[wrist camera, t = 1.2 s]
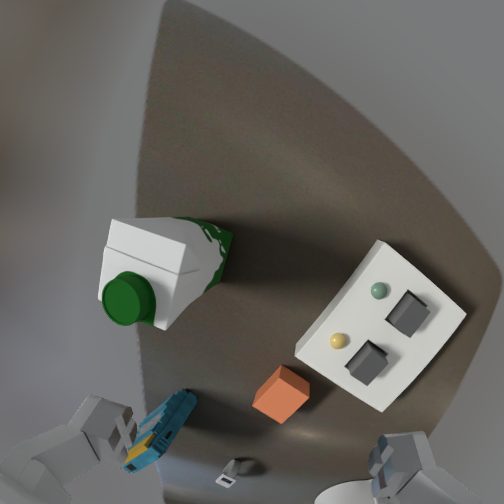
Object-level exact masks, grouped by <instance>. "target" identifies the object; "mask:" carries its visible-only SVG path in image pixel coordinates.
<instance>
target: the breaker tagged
mask: <svg viewBox="0 0 504 504" xmlns="http://www.w3.org/2000/svg"><path fill="white" fill-rule="evenodd" d="M388 364H389V363H388V361H387V359H386V357H385V355H384V353H383V351H382V349H381V348H380V347H378V346H377V345H376V344H374V343H373V342H371V341H370V340H369V339H368V340H367V341H366V342H365V343H364V344H363V346H362V347H361V348H360V349H359V350H358V351H357V352H356V354H355V355H354V356H353V357H352V358H351V359H350V360H349V361H348V368H349V372H350V375H351V376H352V377H354V378H355V379H357V380H359V381H360V382H362V383H363V384H365V385H366V386H368V385H369V384H370V383H371V382H372V381H373V380H374V379H375V378H376V377H377V376H378V374H379V373H380V372H381V371H382V370H383V369H384V368H385V367H386V366H387V365H388Z"/></svg>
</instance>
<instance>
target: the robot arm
mask: <svg viewBox="0 0 504 504" xmlns="http://www.w3.org/2000/svg"><path fill="white" fill-rule="evenodd" d="M132 415H133V412H132V409H131V407H128V406H125V405H122V404H119V403H115V402H113V401H110V400H106V399H104V398H101V397H98V396H95V395H92V394H91V395H89V396H88V397H87V398H86V399H85V400H84V402H83V403H82V405H81V406H80V408H79V409H78V411H77V412H76V413H75V415H74V416H73V418H72V419H71V421H70V422H69V424H68V425H65V424H63V425H61V426H59V427H56V428H54V429H52V430H50V431H47V432H45V433H43V434H40V435H38V436H35V437H33V438H30V439H28V440H26V441H23V442H21V443H18V444H16V445H14V446H13V447H12V449H11V450H10V451H9V453H8V454H7V455H6V457H5V458H4V460H3V461H2V463H1V464H0V504H70V502H71V500H72V498H71V496H70V495H69V493H68V492H67V491H66V490H65V489H64V488H63V486H64V485H66V484H67V483H69V482H71V481H72V480H74V479H76V478H77V477H78V476H80V475H82V474H83V473H85V472H87V471H88V470H90V469H91V468H93V467H94V466H96V465H97V464H99V463H100V462H102V463H105V464H108V465H111V466H114V467H117V468H120V469H122V467H123V465H124V463H125V461H126V459H127V457H128V453H127V450H126V449H127V448H129V447H131V446H132V445H133V444H134V441H135V439H136V434H137V425H136V422H135V421H134V420H133V419H132V418H131V417H132ZM99 461H100V462H99ZM368 468H369V473H370V474H372V475H373V476H374V478H373V479H370V480H364V481H351V482H346V483H342V484H338V485H335V486H333V487H331V488H329V489H327V490H325V491H323V492H322V493H321V494H320V495H319V496H318V497H317V498H316V500H315V503H314V504H482V501H481V499H480V498H479V497H477V496H476V495H475V494H474V493H472V492H471V491H470V490H468V489H467V488H466V487H465V486H463V485H462V484H461V483H460V482H458V481H457V480H456V479H455V478H453V477H452V476H451V475H450V474H449V473H447V472H446V471H444V469H442V468H441V467H436V464H435V461H434V458H433V455H432V452H431V449H430V446H429V443H428V440H427V437H426V435H425V433H424V432H423V431H418V432H410V433H409V432H405V433H395V434H384V435H382V436H380V438H379V439H378V445H377V446H376V447H374V448H373V449H372V451H371V453H370V455H369V460H368Z"/></svg>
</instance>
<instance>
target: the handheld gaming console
mask: <svg viewBox="0 0 504 504" xmlns="http://www.w3.org/2000/svg"><path fill="white" fill-rule="evenodd" d="M196 399H197V396H196V395H195V394H193V393H192V392H191V391H190V392H189V393H188V392H187V391H186V390H184V389H182V390H181V391H178V392H177V393H176V394H173V395H172V396H170V397H169V398H168V399H167V400H166V401H164V402H163V403H162V404H161V405H160V406H158V407H157V408H156V409H155V410H154V411H152V412H151V413H150V414H149V415H148V416H147V417H146V418H145V419H144V421H143V422H142V423H141V424H140V425H139V427H140V429H139V430H138V431H137V434H138V435H137V436H136V439H135V441H134V444H133V445H132V446H131V447H129V448H127V449H128V452H127V453H128V457H127V459H126V461H125V463H124V465H123V468H124V469H125V470H126V471H128V472H129V473H130V472H132V473H135V472H137V471H139V470H140V469H142V468H144V467H146V466H147V465H149V464H151V463H152V462H154V461H156V460H158V459H159V458H160V457H161V456H162V455H163V454H164V453H165V452H166V450H167V449H168V447H169V446H170V444H171V443H172V441H173V439H174V438H175V436H176V435H177V433H178V432H179V430H180V429H181V427H182V425H183V424H184V422H185V421H186V419H187V417H188V416H189V414H190V413H191V411H192V410H193V408H194V406H195V405H196V403H197V402H198V401H197V400H196Z"/></svg>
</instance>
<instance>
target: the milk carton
mask: <svg viewBox="0 0 504 504" xmlns="http://www.w3.org/2000/svg"><path fill="white" fill-rule="evenodd" d="M233 235H234V234H233V233H231V232H228V231H226V230H224V229H222V228H219V227H217V226H215V225H213V224H210V223H207V222H204V221H200V220H197V219H194V218H191V217H163V218H135V219H112V222H111V227H110V231H109V237H108V242H107V246H105V249H104V255H103V264H102V271H101V279H100V285H99V293H98V299H99V300H101V301H102V305H103V308H104V310H105V312H106V314H107V315H108V317H109V318H110V319H112V321H114V322H115V323H117V324H119V325H123V326H127V325H131V324H133V323H135V322H144V323H146V324H148V325H150V326H153V325H154V326H156V327H158V328H160V329H163V330H167V328H168V327H169V326H170V325H171V324H172V323H173V322H174V320H175V319H176V318H177V317H178V316H179V315H180V314H181V312H182V311H183V310H184V309H185V308H186V307H187V306H188V305H189V304H190V303H191V302H193V301H194V300H195V299H197V298H198V297H199V296H201V295H202V294H203V293H205V292H206V291H207V290H209V289H210V288H211V287H213V286H215V285H217V284H218V283H220V280H221V276H222V273H223V269H224V266H225V262H226V259H227V255H228V252H229V248H230V245H231V242H232V238H233Z"/></svg>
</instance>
